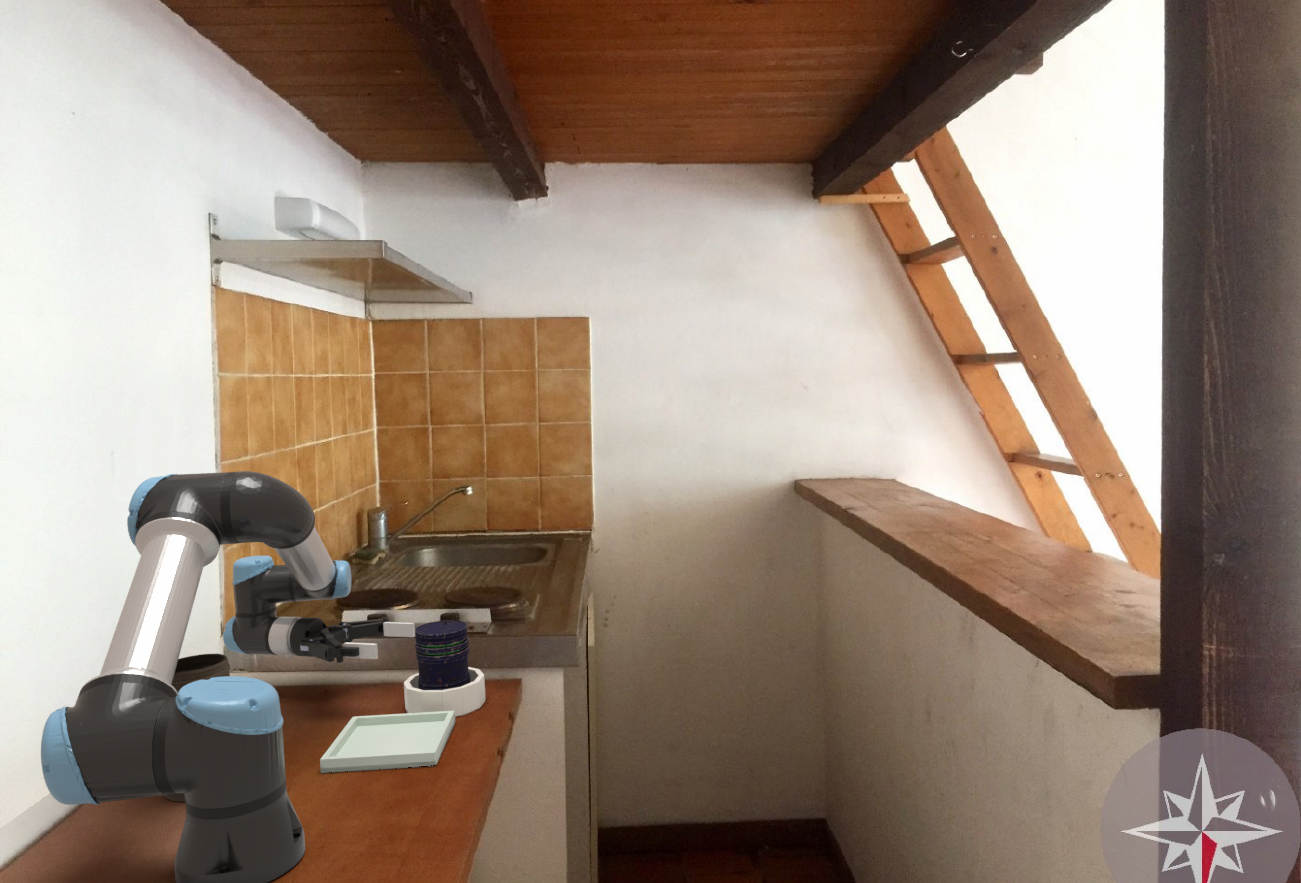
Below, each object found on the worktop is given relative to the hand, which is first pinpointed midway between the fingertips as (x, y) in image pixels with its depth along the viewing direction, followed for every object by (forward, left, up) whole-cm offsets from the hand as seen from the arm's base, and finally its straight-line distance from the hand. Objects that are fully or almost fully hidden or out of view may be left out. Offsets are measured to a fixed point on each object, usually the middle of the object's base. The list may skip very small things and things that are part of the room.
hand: (396, 640), depth 168 cm
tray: (-15, -16, -12) cm, 25 cm away
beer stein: (-41, 0, -12) cm, 42 cm away
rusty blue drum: (+3, -9, -12) cm, 16 cm away
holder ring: (+3, -9, -12) cm, 15 cm away
